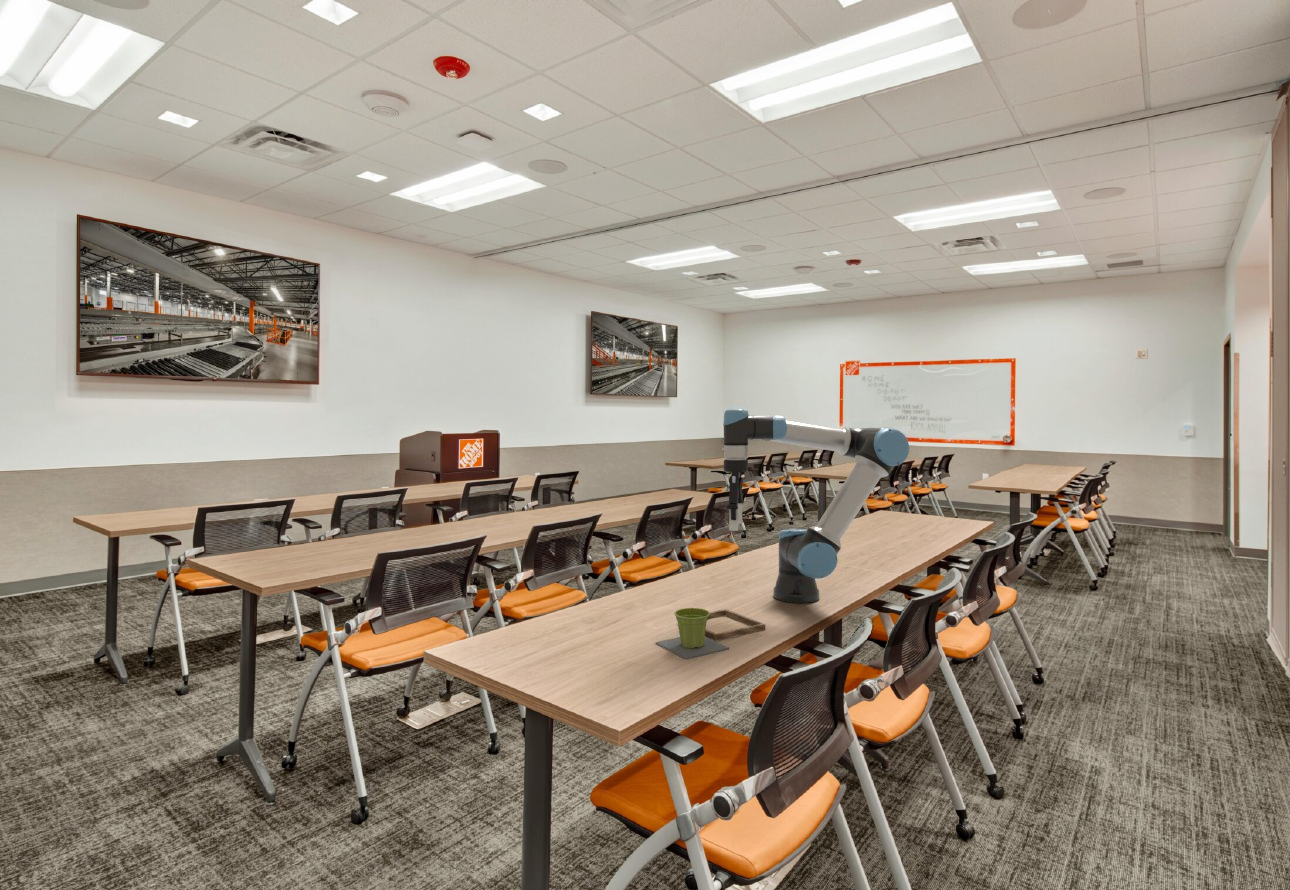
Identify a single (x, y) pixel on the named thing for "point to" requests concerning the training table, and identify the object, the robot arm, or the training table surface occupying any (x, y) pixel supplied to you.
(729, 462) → the robot arm
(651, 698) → the training table surface
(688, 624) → the plant pot
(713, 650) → the mat
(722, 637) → the tray frame
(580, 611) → the training table surface
